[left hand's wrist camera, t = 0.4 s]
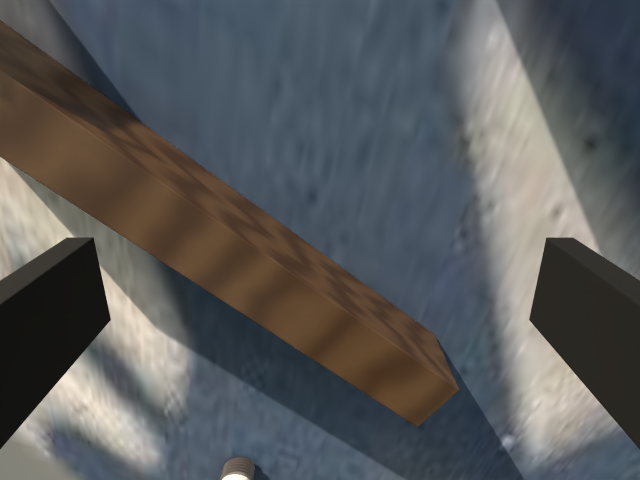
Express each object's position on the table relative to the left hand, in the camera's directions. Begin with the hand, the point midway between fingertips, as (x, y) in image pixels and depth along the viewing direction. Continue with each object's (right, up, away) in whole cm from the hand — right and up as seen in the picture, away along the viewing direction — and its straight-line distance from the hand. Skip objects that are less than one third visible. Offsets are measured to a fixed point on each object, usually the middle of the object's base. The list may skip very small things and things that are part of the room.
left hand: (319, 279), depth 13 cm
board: (-12, +6, +27) cm, 30 cm away
